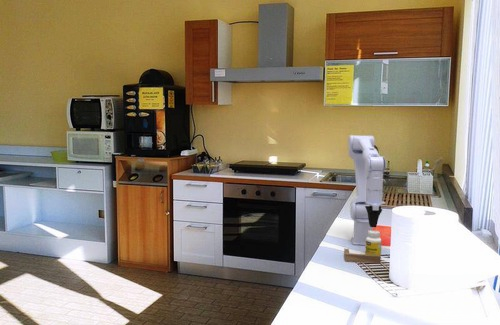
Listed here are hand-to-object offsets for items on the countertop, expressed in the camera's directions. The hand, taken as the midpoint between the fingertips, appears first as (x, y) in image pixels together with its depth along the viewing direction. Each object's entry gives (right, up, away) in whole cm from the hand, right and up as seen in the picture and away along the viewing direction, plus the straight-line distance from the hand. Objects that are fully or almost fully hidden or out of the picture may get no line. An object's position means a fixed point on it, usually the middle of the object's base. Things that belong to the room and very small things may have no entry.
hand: (372, 226), depth 177 cm
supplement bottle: (-1, -11, -4) cm, 12 cm away
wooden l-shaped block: (-5, -11, -5) cm, 13 cm away
